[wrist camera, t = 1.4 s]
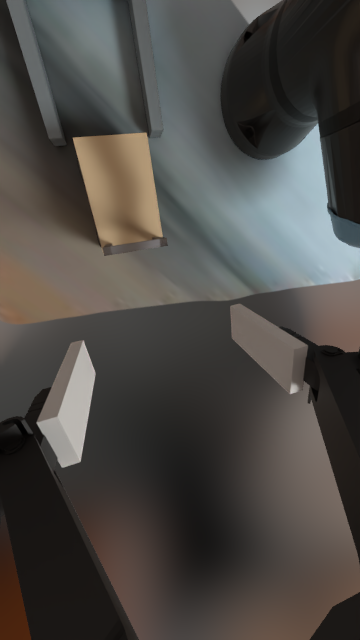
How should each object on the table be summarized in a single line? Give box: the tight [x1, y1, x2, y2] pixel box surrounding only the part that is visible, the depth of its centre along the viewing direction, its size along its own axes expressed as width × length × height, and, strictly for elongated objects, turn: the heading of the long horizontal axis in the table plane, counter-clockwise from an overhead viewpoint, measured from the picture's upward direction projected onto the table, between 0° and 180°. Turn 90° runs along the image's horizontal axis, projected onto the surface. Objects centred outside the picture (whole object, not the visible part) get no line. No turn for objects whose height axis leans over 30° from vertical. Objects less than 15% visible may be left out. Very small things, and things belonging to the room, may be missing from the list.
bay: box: [6, 0, 163, 146], centre depth 25 cm, size 14×14×2 cm
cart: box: [73, 133, 168, 256], centre depth 27 cm, size 9×12×13 cm
